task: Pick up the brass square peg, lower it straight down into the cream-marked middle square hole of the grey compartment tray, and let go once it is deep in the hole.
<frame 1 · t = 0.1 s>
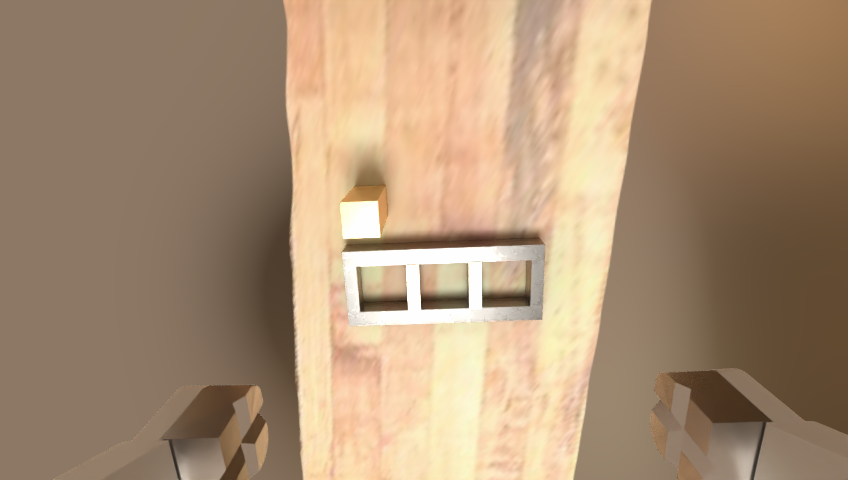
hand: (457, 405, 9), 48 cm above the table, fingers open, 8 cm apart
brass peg: (371, 201, 57), on the table
grey compartment tray: (443, 278, 60), on the table
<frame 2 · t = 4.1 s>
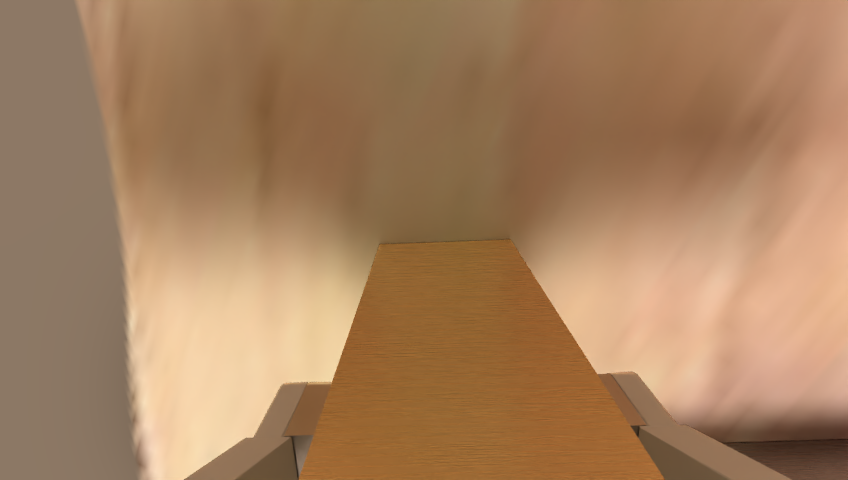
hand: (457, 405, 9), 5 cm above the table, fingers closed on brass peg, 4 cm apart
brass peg: (446, 301, 14), on the table, touching gripper
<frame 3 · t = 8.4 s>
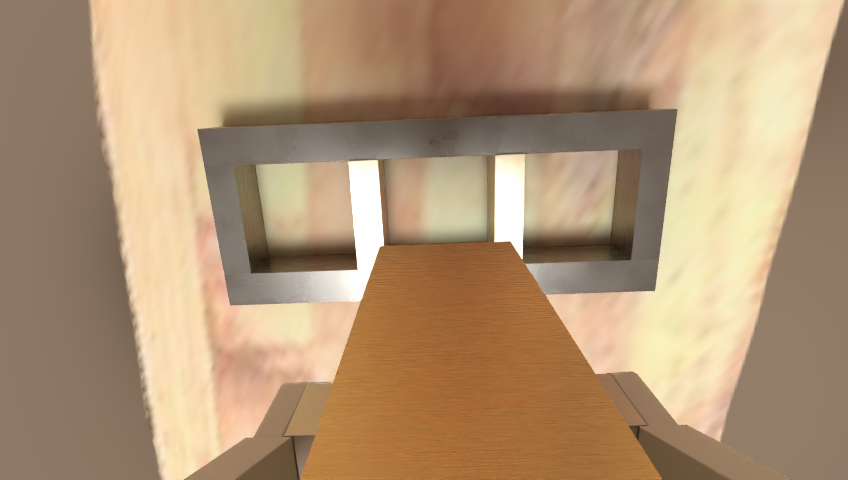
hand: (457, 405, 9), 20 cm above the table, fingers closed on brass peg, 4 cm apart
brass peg: (446, 303, 14), point 14 cm above the table, touching gripper
grey compartment tray: (436, 202, 28), on the table
when the fingers open (6 cm above the table, at t = 12.9 s): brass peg stays where it is, resting in grey compartment tray.
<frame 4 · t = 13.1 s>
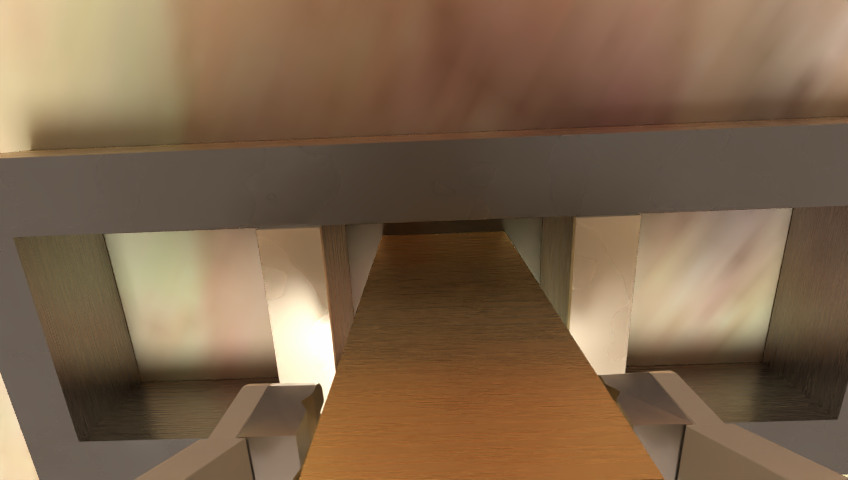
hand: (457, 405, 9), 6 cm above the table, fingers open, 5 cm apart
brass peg: (444, 289, 15), resting in grey compartment tray
grey compartment tray: (445, 290, 15), on the table
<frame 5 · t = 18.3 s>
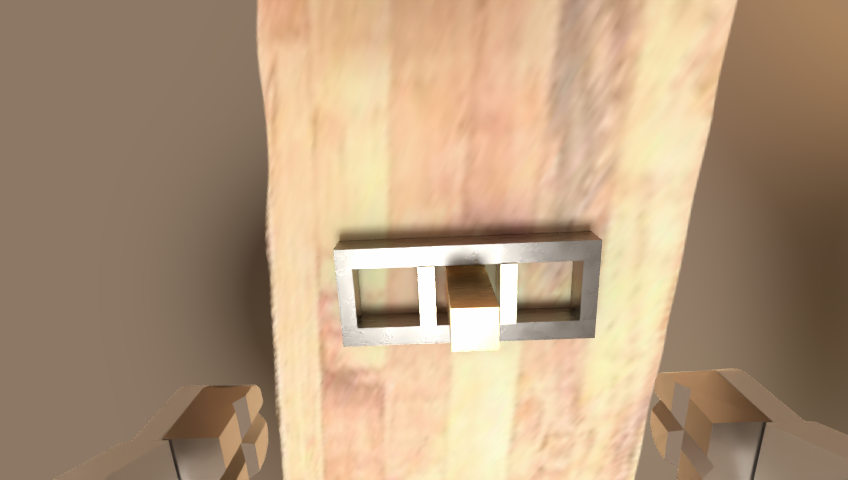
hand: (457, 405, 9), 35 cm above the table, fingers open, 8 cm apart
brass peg: (465, 283, 46), resting in grey compartment tray
grey compartment tray: (465, 283, 46), on the table
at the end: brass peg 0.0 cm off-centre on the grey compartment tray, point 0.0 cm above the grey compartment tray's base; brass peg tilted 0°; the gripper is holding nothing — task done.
